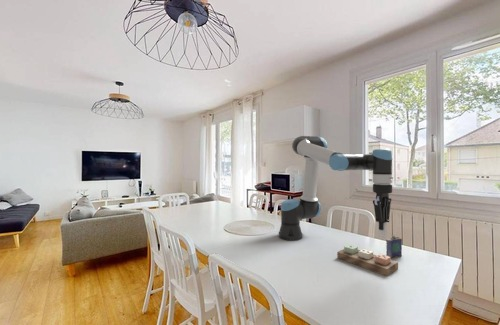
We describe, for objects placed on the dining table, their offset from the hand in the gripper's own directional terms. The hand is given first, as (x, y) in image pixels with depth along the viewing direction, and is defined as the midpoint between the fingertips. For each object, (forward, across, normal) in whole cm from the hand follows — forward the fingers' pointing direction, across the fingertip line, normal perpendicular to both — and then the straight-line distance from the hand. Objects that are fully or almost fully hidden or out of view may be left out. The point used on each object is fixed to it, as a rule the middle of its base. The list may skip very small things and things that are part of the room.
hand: (382, 236), depth 102 cm
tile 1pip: (+11, 0, +15) cm, 19 cm away
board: (+14, 0, +8) cm, 16 cm away
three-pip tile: (+11, 0, 0) cm, 11 cm away
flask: (+15, +19, +3) cm, 24 cm away
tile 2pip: (+11, 0, +8) cm, 14 cm away
